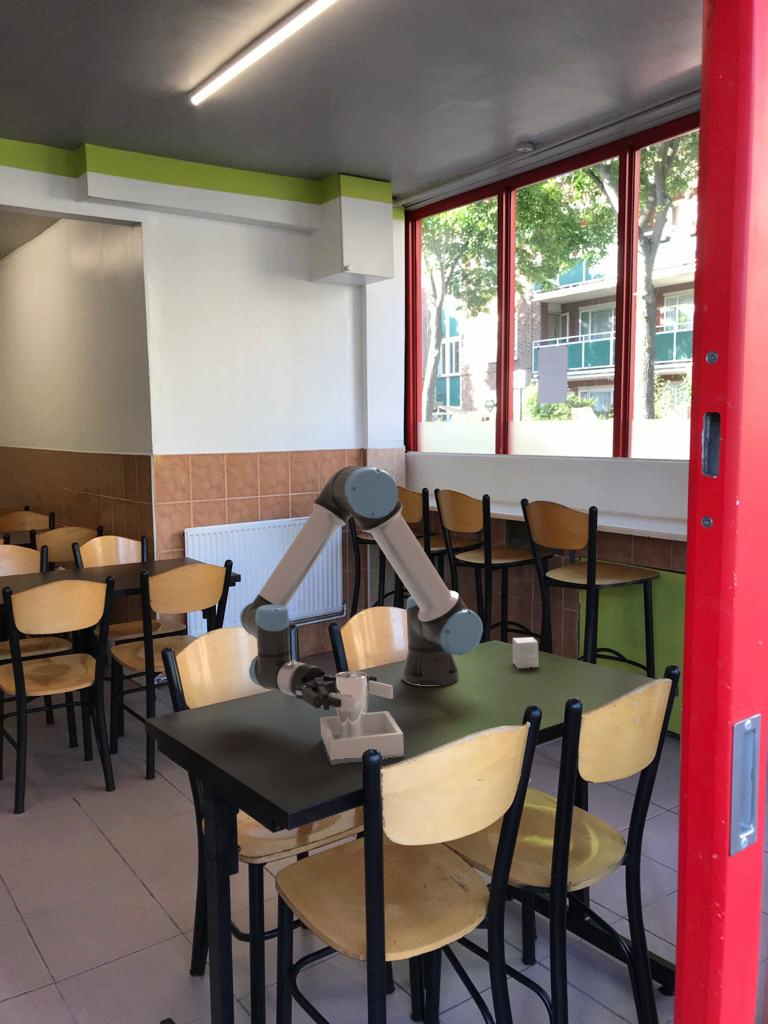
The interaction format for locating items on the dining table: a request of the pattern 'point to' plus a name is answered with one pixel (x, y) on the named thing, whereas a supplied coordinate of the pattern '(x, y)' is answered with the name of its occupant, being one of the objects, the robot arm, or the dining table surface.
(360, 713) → the beer glass
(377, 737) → the tote
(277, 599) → the robot arm
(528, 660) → the product box
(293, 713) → the dining table surface
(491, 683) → the dining table surface
